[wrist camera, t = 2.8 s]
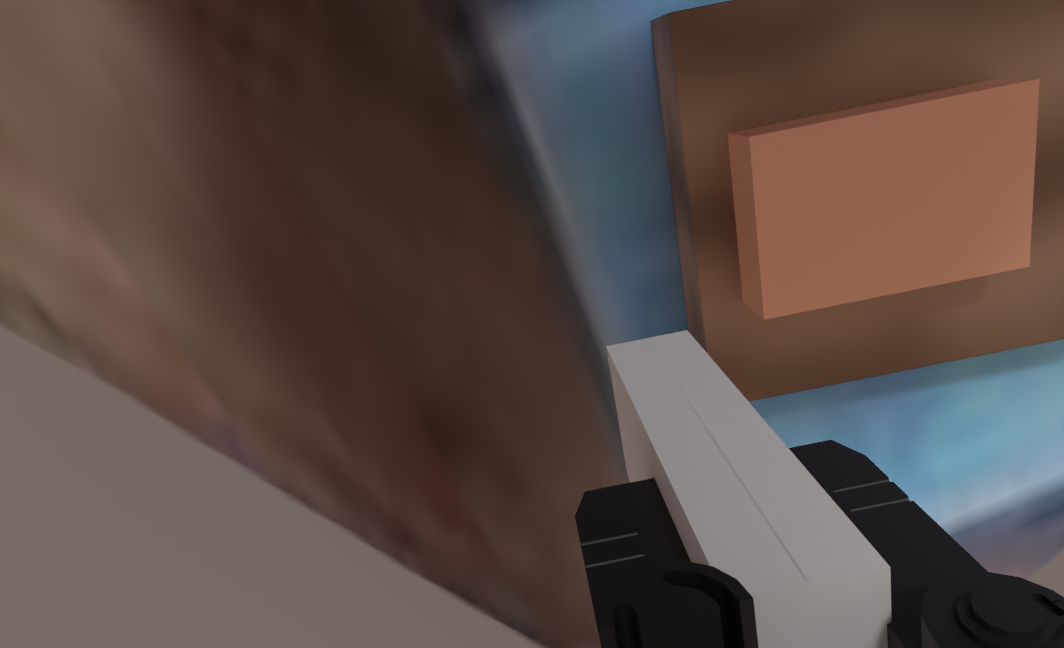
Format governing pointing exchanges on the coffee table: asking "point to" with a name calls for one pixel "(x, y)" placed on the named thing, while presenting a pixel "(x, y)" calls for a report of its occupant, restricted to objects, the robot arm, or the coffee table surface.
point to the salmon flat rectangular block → (885, 196)
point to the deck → (833, 85)
